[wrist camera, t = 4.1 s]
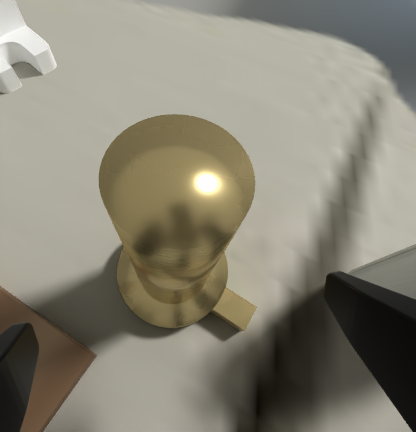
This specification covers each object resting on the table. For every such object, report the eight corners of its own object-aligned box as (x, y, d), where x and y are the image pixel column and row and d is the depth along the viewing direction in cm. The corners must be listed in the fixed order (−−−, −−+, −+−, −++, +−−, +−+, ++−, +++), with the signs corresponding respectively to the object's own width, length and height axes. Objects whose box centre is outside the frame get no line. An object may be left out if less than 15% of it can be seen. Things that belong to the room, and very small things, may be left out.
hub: (96, 288, 19) (-16, 201, 7) (160, 207, 21) (151, 53, 10) (219, 371, 18) (310, 423, 6) (269, 275, 20) (395, 188, 9)
